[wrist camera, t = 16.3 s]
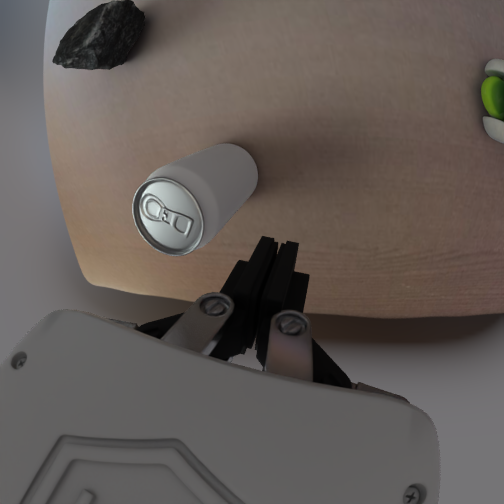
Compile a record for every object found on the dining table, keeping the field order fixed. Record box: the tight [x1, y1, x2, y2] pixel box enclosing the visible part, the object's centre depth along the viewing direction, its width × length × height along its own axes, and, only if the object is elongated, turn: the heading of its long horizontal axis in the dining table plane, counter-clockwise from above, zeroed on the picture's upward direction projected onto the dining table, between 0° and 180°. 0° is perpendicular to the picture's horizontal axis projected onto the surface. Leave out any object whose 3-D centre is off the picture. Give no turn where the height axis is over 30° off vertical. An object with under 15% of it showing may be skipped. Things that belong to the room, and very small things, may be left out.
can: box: [132, 143, 258, 256], centre depth 22 cm, size 6×6×12 cm
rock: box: [53, 0, 145, 70], centre depth 17 cm, size 8×7×10 cm
